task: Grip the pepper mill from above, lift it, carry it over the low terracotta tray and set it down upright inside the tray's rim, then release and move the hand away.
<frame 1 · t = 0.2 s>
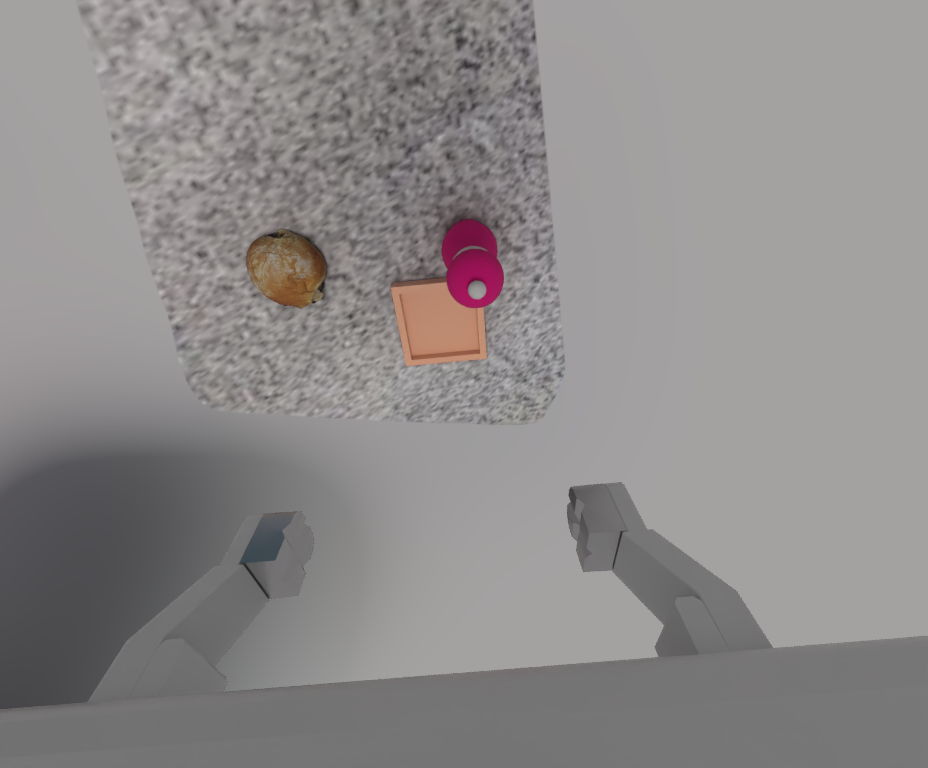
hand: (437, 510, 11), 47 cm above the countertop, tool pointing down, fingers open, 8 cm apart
pepper mill: (467, 242, 52), on the countertop
bread roll: (294, 267, 53), on the countertop
terracotta tray: (441, 319, 58), on the countertop
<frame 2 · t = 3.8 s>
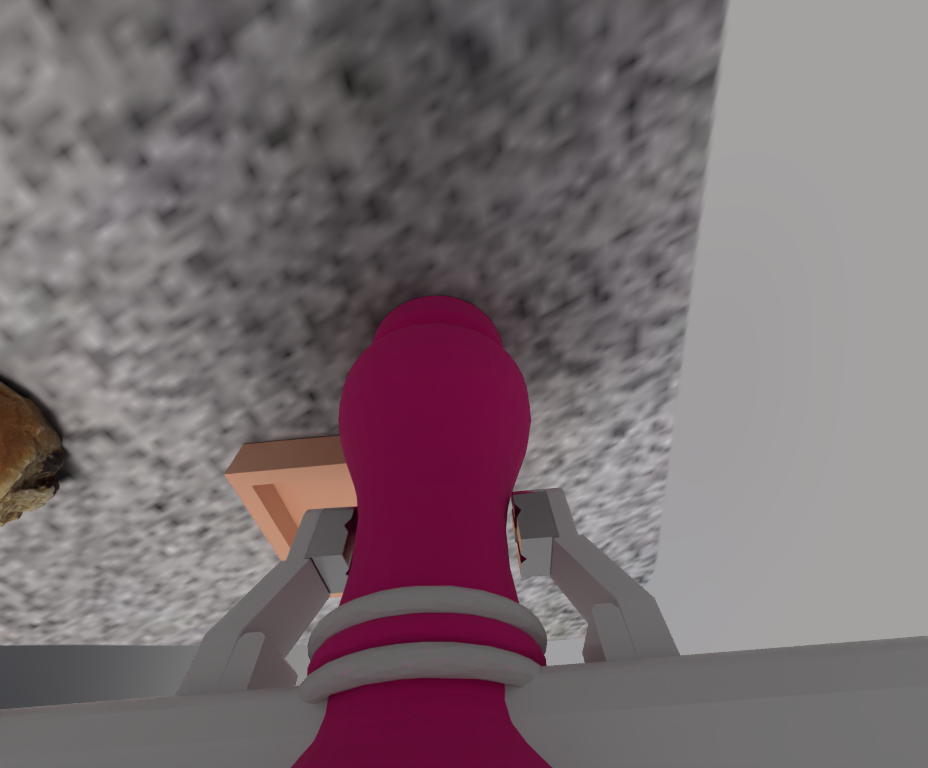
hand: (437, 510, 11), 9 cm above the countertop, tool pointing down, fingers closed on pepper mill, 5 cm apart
pepper mill: (438, 353, 18), on the countertop, touching arm, gripper
terracotta tray: (383, 507, 24), on the countertop
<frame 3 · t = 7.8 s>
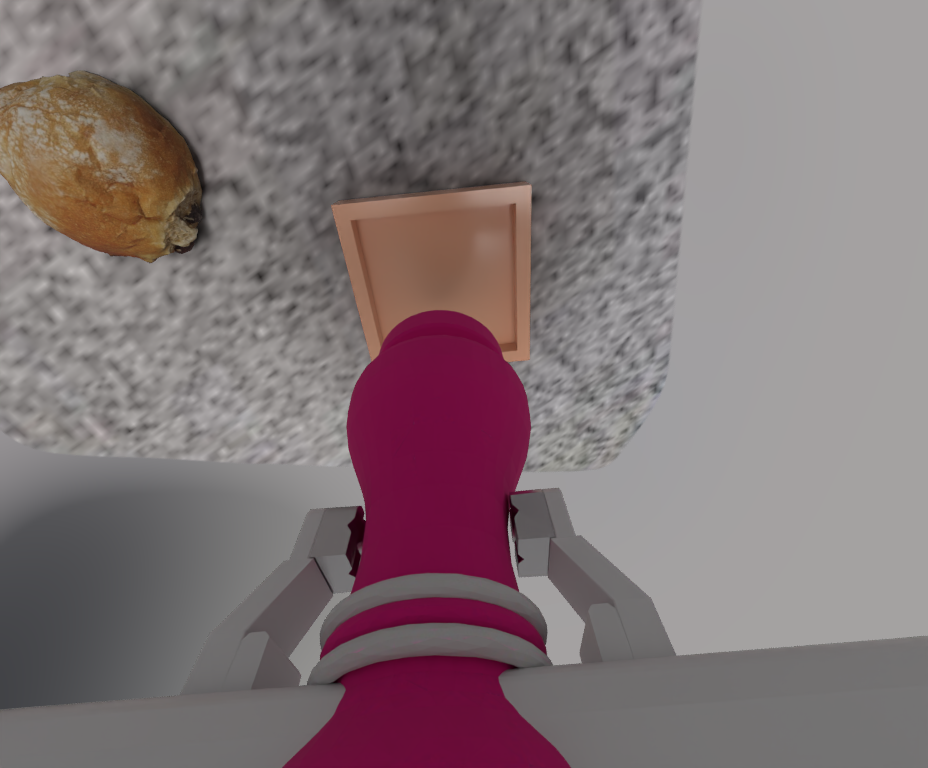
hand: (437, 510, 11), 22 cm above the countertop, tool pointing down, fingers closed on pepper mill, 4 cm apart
pepper mill: (441, 365, 19), point 13 cm above the countertop, touching gripper
bread roll: (135, 173, 25), on the countertop
terracotta tray: (443, 282, 29), on the countertop
when the fingers open (10 cm above the countertop, at t = 10.7 s): pepper mill stays where it is, resting on terracotta tray.
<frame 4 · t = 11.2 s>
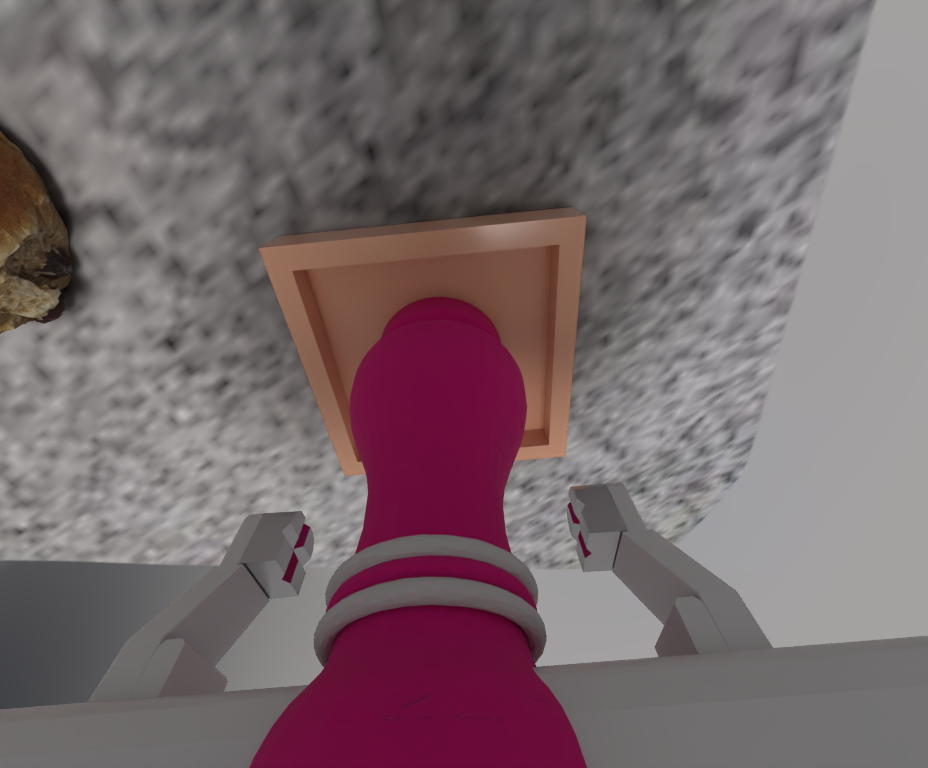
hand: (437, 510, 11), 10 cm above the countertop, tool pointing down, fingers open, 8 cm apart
pepper mill: (441, 351, 19), point 1 cm above the countertop, touching terracotta tray
terracotta tray: (441, 350, 20), on the countertop
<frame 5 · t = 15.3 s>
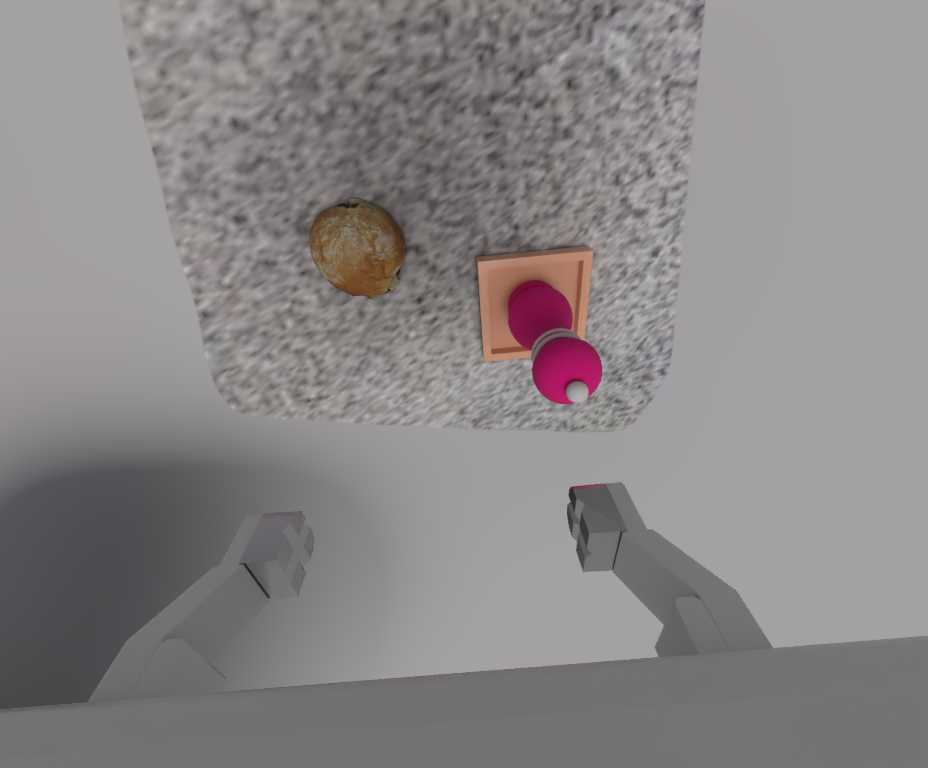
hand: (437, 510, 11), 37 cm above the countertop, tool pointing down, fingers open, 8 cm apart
pepper mill: (532, 303, 46), point 1 cm above the countertop, touching terracotta tray
bread roll: (364, 247, 43), on the countertop
terracotta tray: (531, 303, 47), on the countertop
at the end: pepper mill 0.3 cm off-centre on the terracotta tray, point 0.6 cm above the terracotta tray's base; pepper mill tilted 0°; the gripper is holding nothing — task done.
